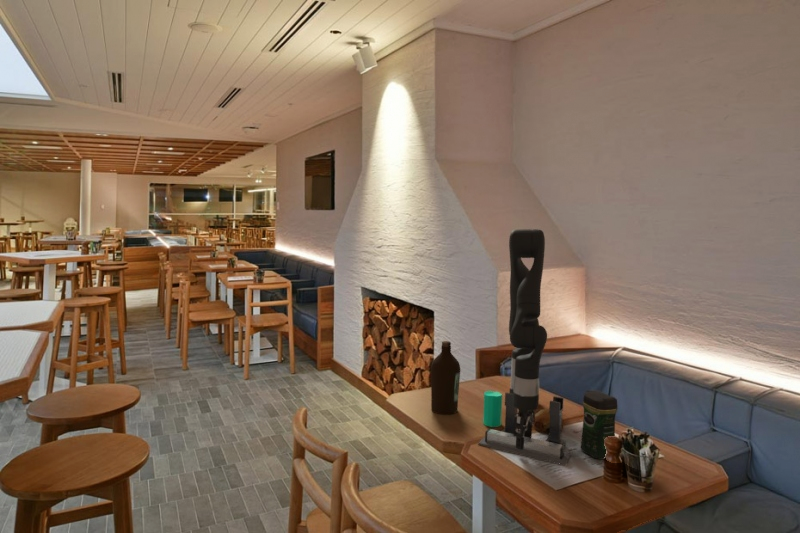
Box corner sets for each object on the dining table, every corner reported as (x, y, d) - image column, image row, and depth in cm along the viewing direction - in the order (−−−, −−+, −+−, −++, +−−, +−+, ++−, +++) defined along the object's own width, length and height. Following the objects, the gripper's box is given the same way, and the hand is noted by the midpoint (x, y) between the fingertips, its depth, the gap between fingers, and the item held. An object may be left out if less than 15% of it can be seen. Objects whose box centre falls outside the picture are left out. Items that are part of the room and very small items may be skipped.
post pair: (505, 429, 172) (507, 387, 171) (564, 441, 163) (566, 398, 162) (500, 434, 168) (502, 392, 166) (560, 448, 158) (563, 403, 157)
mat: (486, 436, 166) (486, 434, 166) (570, 455, 154) (570, 453, 153) (478, 444, 160) (478, 442, 160) (565, 465, 147) (565, 463, 147)
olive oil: (427, 413, 185) (429, 344, 182) (431, 403, 195) (433, 337, 193) (457, 416, 183) (460, 346, 180) (460, 406, 193) (462, 339, 191)
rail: (488, 437, 164) (488, 428, 163) (564, 455, 153) (564, 445, 152) (485, 441, 161) (485, 431, 161) (561, 459, 150) (562, 448, 150)
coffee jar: (619, 458, 153) (623, 396, 151) (597, 462, 150) (601, 399, 148) (596, 444, 162) (600, 386, 160) (575, 448, 159) (578, 388, 157)
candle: (500, 427, 173) (502, 392, 172) (482, 426, 175) (484, 391, 174) (501, 421, 179) (502, 387, 178) (483, 419, 181) (484, 385, 179)
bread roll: (563, 438, 175) (566, 413, 178) (560, 435, 166) (563, 410, 169) (534, 432, 179) (536, 408, 182) (529, 429, 171) (532, 405, 173)
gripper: (520, 382, 163) (518, 432, 165) (506, 395, 151) (504, 449, 152) (544, 386, 159) (542, 437, 161) (532, 400, 147) (529, 455, 149)
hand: (523, 443), depth 157 cm, fingers open, 8 cm apart
